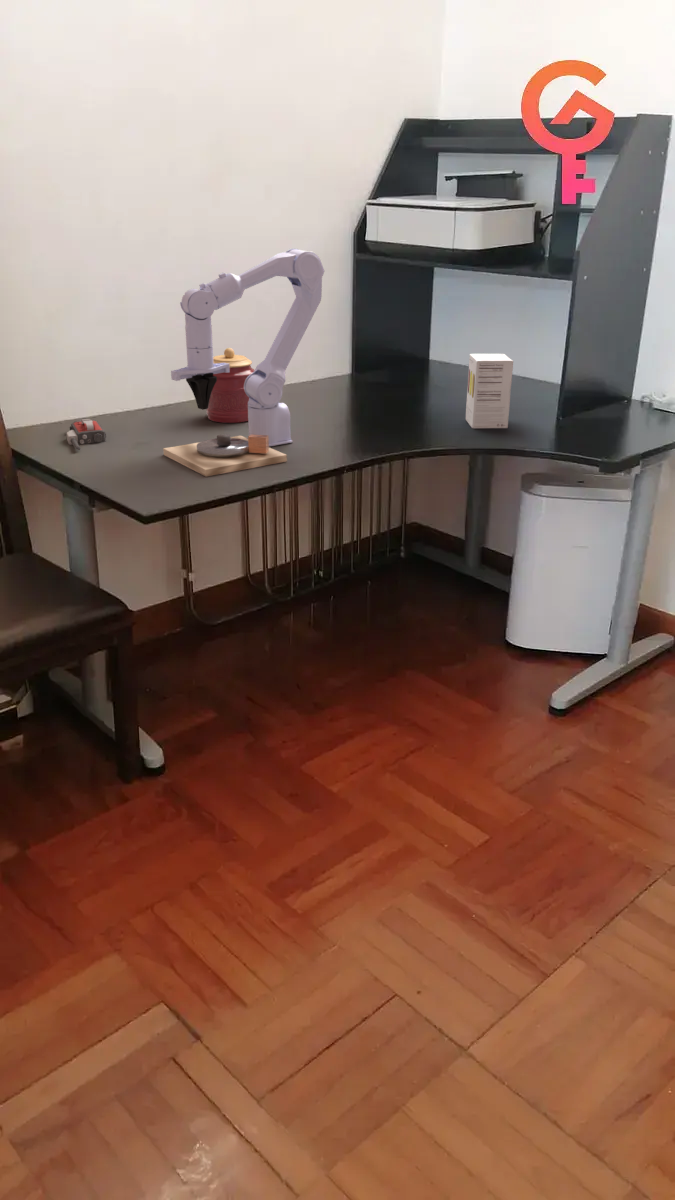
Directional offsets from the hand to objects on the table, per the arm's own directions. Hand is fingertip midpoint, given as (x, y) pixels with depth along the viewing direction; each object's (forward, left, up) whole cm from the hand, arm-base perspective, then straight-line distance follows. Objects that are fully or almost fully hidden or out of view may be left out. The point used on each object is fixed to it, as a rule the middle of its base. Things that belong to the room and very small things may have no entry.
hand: (202, 408), depth 213 cm
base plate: (0, +9, -9) cm, 13 cm away
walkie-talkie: (+19, -23, -10) cm, 31 cm away
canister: (-20, -23, -10) cm, 32 cm away
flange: (-1, +10, -7) cm, 13 cm away
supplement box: (-70, +19, -10) cm, 73 cm away
